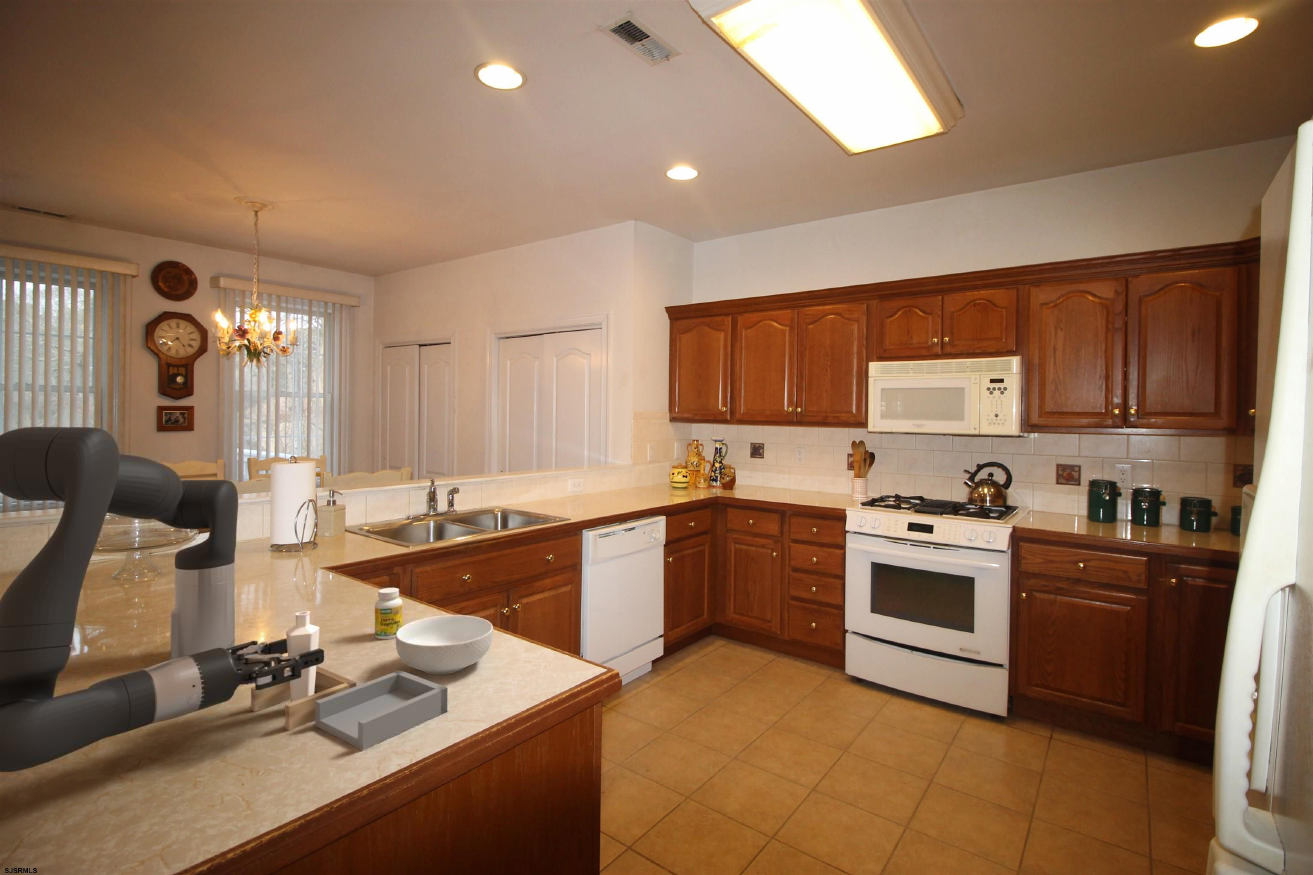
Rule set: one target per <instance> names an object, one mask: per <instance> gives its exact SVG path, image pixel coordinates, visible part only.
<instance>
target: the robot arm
mask: <svg viewBox="0 0 1313 875" xmlns="http://www.w3.org/2000/svg"><path fill="white" fill-rule="evenodd" d="M0 494H2V495H4V496H6V497H8V498H10V499H12V500H17V501H27V502H32V501H33V502H41V501H42V502H44V501H50V502H63V503H64V506H63V508H62V509H63V510H62V513H61V517H60V519H59V522H58V524H57V526H56V528H55V530H54V531H53V533H52V535H51V536H50V537H49V539H48V540H47V541H46V543H45V544H44V546H42V548H41V549H40V550H39V551H38V553H37V554H36V555H35V556H34V558H33V559H31V560H30V562H29V563H28V564H27V565H26V566H25V567H24V568H23V569H22V571H21V572H20V573H19V574H18V575H17V576H16V578H14V580H12V582H11V583H10V584H9V586H8V587H7V589H6V590H5V592H3V595H2V596H1V598H0V773H12V772H19V771H24V770H28V769H31V768H34V767H38V766H40V765H44V764H46V763H50V762H51V761H54V760H58V759H60V758H62V757H64V756H67V755H70V754H71V753H74V752H76V751H79V750H81V749H83V748H85V747H89V746H90V745H92V744H94V743H96V742H99V741H101V740H104V739H107V738H111V737H113V736H114V737H115V736H117V735H118V736H119V735H122V734H124V733H128V732H131V731H134V730H137V729H140V728H144V727H146V726H149V725H152V724H157V723H162V722H165V721H166V722H167V721H170V720H174V719H178V718H179V717H183V716H186V715H189V714H192V713H195V712H198V711H201V710H204V709H208V708H210V707H214V706H216V705H219V704H223V703H227V702H228V701H230V700H231V699H232V698H233V696H234V694H235V693H236V690H237V689H238V687H239V686H241V685H242V686H243V685H254V686H255V690H262V689H265V688H269V687H272V686H275V685H279V684H282V683H285V682H288V681H292V680H295V679H298V678H301V670H303V669H306V668H309V667H312V666H315V665H316V666H318V665H321V664H323V663H324V662H325V650H324V649H322V648H319V647H318V649H315V650H312V651H308V652H305V653H302V654H298V655H294V656H288V655H286V654H288V650H287V637H286V638H282V639H278V640H274V641H271V642H267V641H261V642H259V643H258V640H251V641H248V642H246V643H240V644H238V645H236V631H235V630H236V620H235V619H236V618H235V617H236V598H235V597H236V596H235V593H236V592H235V591H236V590H235V589H236V586H235V584H236V582H235V580H236V579H235V578H236V577H235V575H236V572H235V571H236V570H235V569H236V566H235V564H236V563H235V562H236V548H237V547H236V546H237V531H238V530H237V529H238V528H237V526H238V516H239V514H238V513H239V495H238V494H239V492H238V489H237V487H236V485H235V483H234V482H233V481H231V480H228V479H185V480H182V479H181V478H180V476H179V475H178V473H177V472H176V471H175V470H174V469H172V468H171V467H169V466H168V465H165V464H164V463H161V462H159V461H156V460H152V459H150V458H146V457H142V456H138V455H131V454H121V453H120V450H119V446H118V444H117V441H116V440H115V438H114V436H113V435H112V434H111V433H110V432H108V431H106V430H105V429H103V428H99V427H89V426H88V427H87V426H69V427H68V426H27V427H20V428H16V429H15V428H14V429H11V430H8V431H6V432H4V433H1V434H0ZM107 513H109V514H113V515H116V516H119V517H120V516H121V517H125V518H132V519H136V520H137V519H140V520H147V521H148V520H154V521H156V522H157V521H158V522H159V523H162V524H164V525H167V526H168V527H172V528H174V529H180V530H206V529H207V530H208V529H209V534H208V538H206V539H205V540H203V541H202V542H199V543H196V544H194V545H191V546H187V547H185V548H182V549H180V550H178V551H177V552H176V553H175V554H174V555H175V556H174V608H173V609H172V610H171V611H170V659H169V660H166V661H162V662H160V663H157V664H154V665H152V666H149V667H147V668H142V669H140V670H136V671H133V672H128V673H125V674H120V675H117V676H113V677H108V678H106V679H104V680H101V681H97V682H95V683H93V684H92V685H89V686H88V687H87V688H85V689H80V690H76V691H73V692H70V693H69V692H68V693H65V694H62V695H58V696H55V695H54V694H55V690H56V686H57V680H58V676H59V674H60V673H61V672H62V671H63V670H64V669H65V668H66V666H67V665H68V661H69V660H70V659H69V658H70V656H71V655H70V654H71V651H72V644H73V640H74V633H75V626H76V618H77V611H78V606H79V599H80V596H81V591H82V588H83V585H84V580H85V577H86V574H87V570H88V568H89V564H90V561H91V558H92V556H93V553H94V551H95V548H96V545H97V542H98V540H99V536H100V534H101V531H102V528H103V525H104V522H105V518H106V516H107ZM284 655H285V656H284ZM273 663H274V664H273ZM289 668H290V669H289Z"/></svg>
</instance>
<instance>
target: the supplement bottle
mask: <svg viewBox="0 0 1313 875" xmlns="http://www.w3.org/2000/svg"><path fill="white" fill-rule="evenodd" d="M399 596H400V589H399V588H396V587H384V588H382V589H381V588H380V589H379V590H378V592H377V597H378V600H376V601H375V603H374V637H375V638H376V639H379V640H390V639H391V640H393V639H396V633H397V631H398V630H399V629H400V628H401V627H403V626H404V625H403V624H404V623H403V622H404V621H403V614H404V613H403V600H402V599H401V598H400V597H399Z"/></svg>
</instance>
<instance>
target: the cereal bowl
mask: <svg viewBox="0 0 1313 875" xmlns="http://www.w3.org/2000/svg"><path fill="white" fill-rule="evenodd" d="M493 635H494V626H493V624H492V623H491V621H489V620H486V619H485V618H482V617H478V616H473V615H467V614H466V615H464V614H447V615H445V614H444V615H437V616H435V615H434V616H430V617H425V618H421V619H417V620H413V621H411V622H409V623H406V624H404V625H403V627H401V628H400V629H399V630H398V631H397V633H396V638H395V646H396V647H395V648H396V652H397V655H398V657H399V658H400V659H401V661H402V662H403V663H405V665H407V666H408V667H411V668H413V669H415V670H416V669H417V670H419V671H423V672H424V673H427V674H431V675H447V674H448V675H449V674H453V673H457V672H459V671H462V670H463V669H465V668H466V667H468V666H472V665H473V664H474V663H477V662H479V660H481V659H482V658H483V657H484V656H485V655H486V653H487V652H489V650H490V647H491V644H492V641H493Z"/></svg>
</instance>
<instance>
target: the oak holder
mask: <svg viewBox="0 0 1313 875" xmlns="http://www.w3.org/2000/svg"><path fill="white" fill-rule="evenodd" d="M355 686H358V684H357V681H354V680H352V679H350V678H347V677H345V676H343V675H341V674H340V675H339V674H337V673H336V672H332V671H331V670H328V669H325V668H323V667H321V666H318V665H316V676H315V688H314V694H313V695H310V696H308V697H305V698H302V699H299V700H296V701H294V702H291V703H290V702H288V703H285V704H284V729H285V730H288V731H291V730H294V729H297V728H299V727H302V726H304V725H306V724H310V723H312V722H315V705H316V701H317V700H320V699H323V698H325V697H328V696H331V695H334V694H336V693H339V692H342V691H345V690H347V689H350V688H353V687H355ZM315 692H316V693H315ZM286 701H291V691H290V681H288V682H285V683H282V684H279V685H275V686H272V687H269V688H265V689H262V690H255V685H254V686H252V687H250V710H251V711H252V712H258V711H261V710H263V709H267V708H270V707H272V706H275V705H278V704H281V703H283V702H286Z"/></svg>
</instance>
